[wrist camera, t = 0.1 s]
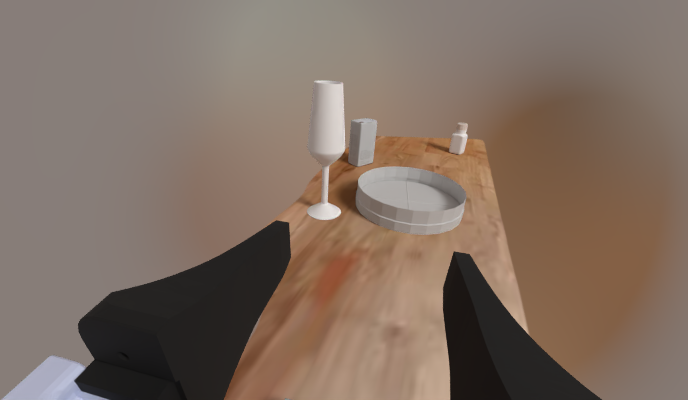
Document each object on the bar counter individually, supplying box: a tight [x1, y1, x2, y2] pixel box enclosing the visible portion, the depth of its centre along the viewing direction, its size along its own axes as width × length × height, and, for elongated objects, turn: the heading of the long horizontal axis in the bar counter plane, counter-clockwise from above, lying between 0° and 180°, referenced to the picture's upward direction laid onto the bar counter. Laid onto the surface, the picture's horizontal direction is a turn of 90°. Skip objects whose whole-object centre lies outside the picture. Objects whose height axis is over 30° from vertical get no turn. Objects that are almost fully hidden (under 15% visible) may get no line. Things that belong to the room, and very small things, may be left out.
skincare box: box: [348, 118, 377, 167], centre depth 85 cm, size 6×4×12 cm
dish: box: [356, 167, 466, 235], centre depth 65 cm, size 22×22×5 cm
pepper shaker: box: [449, 123, 468, 155], centre depth 100 cm, size 4×4×10 cm
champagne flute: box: [307, 80, 345, 220], centre depth 56 cm, size 7×7×24 cm
